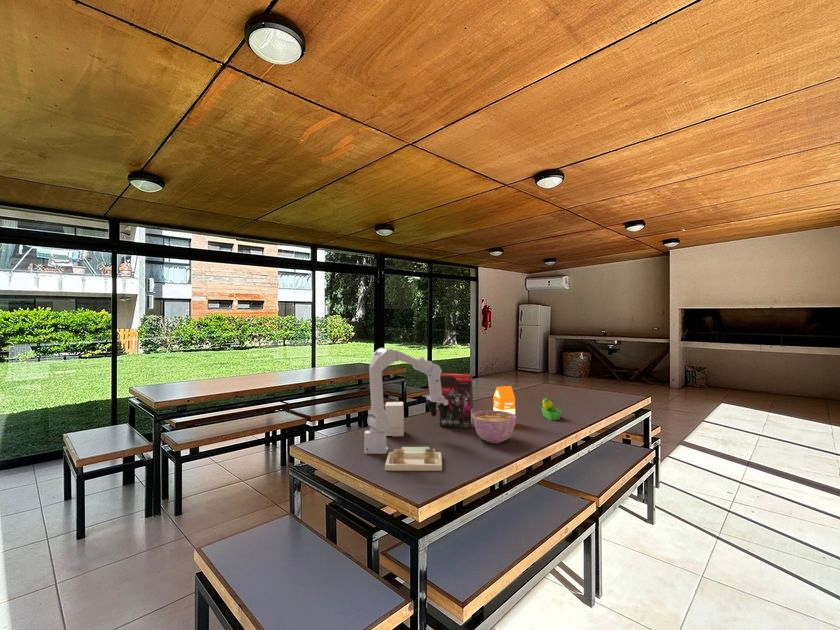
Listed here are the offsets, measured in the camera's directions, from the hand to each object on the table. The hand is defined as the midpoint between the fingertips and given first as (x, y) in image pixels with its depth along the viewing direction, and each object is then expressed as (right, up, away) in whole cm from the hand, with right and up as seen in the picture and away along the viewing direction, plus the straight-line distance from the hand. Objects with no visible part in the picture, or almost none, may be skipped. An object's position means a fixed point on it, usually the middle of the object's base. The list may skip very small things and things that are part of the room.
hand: (439, 417), depth 185 cm
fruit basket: (+64, -10, +37) cm, 75 cm away
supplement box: (-21, -11, +9) cm, 26 cm away
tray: (-11, -10, -31) cm, 34 cm away
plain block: (-17, -10, -31) cm, 37 cm away
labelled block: (-5, -10, -31) cm, 33 cm away
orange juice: (+36, -10, +26) cm, 46 cm away
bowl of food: (+25, -10, -2) cm, 28 cm away
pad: (-11, -10, -17) cm, 23 cm away
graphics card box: (+10, -11, +22) cm, 26 cm away
